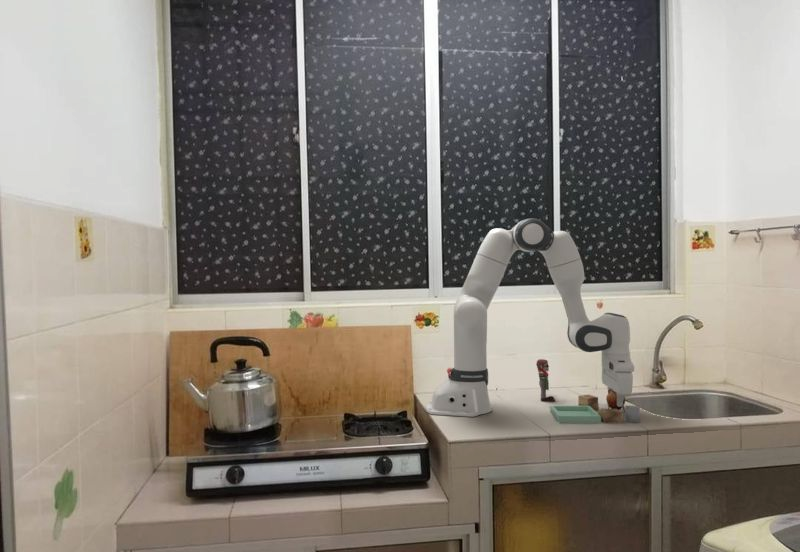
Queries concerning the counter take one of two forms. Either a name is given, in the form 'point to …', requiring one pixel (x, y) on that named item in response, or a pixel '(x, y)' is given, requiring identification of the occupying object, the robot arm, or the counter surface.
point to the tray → (575, 414)
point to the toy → (544, 380)
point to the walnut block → (610, 415)
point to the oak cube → (588, 401)
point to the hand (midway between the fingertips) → (615, 403)
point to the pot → (613, 400)
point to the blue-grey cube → (633, 414)
